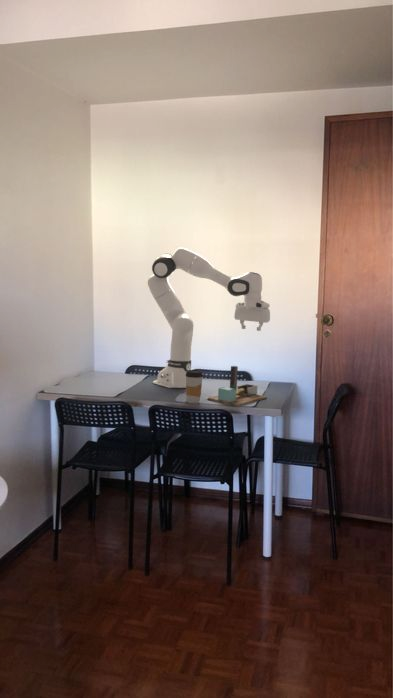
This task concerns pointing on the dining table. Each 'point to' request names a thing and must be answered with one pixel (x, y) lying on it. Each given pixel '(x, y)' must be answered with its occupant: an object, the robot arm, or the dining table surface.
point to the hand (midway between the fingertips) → (251, 329)
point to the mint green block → (227, 394)
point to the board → (239, 400)
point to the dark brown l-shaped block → (235, 381)
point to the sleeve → (248, 390)
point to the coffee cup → (193, 386)
